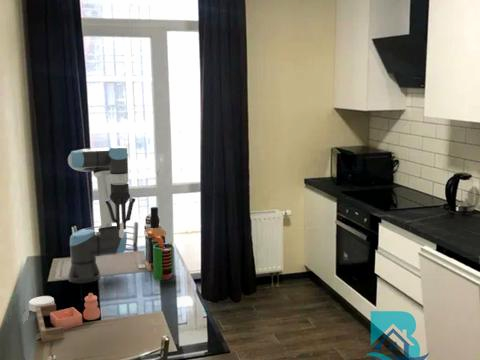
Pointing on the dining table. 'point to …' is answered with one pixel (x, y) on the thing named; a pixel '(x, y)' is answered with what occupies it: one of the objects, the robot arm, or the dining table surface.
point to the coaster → (40, 302)
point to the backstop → (45, 333)
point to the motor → (162, 259)
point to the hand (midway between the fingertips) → (121, 236)
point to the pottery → (76, 314)
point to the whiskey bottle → (152, 238)
